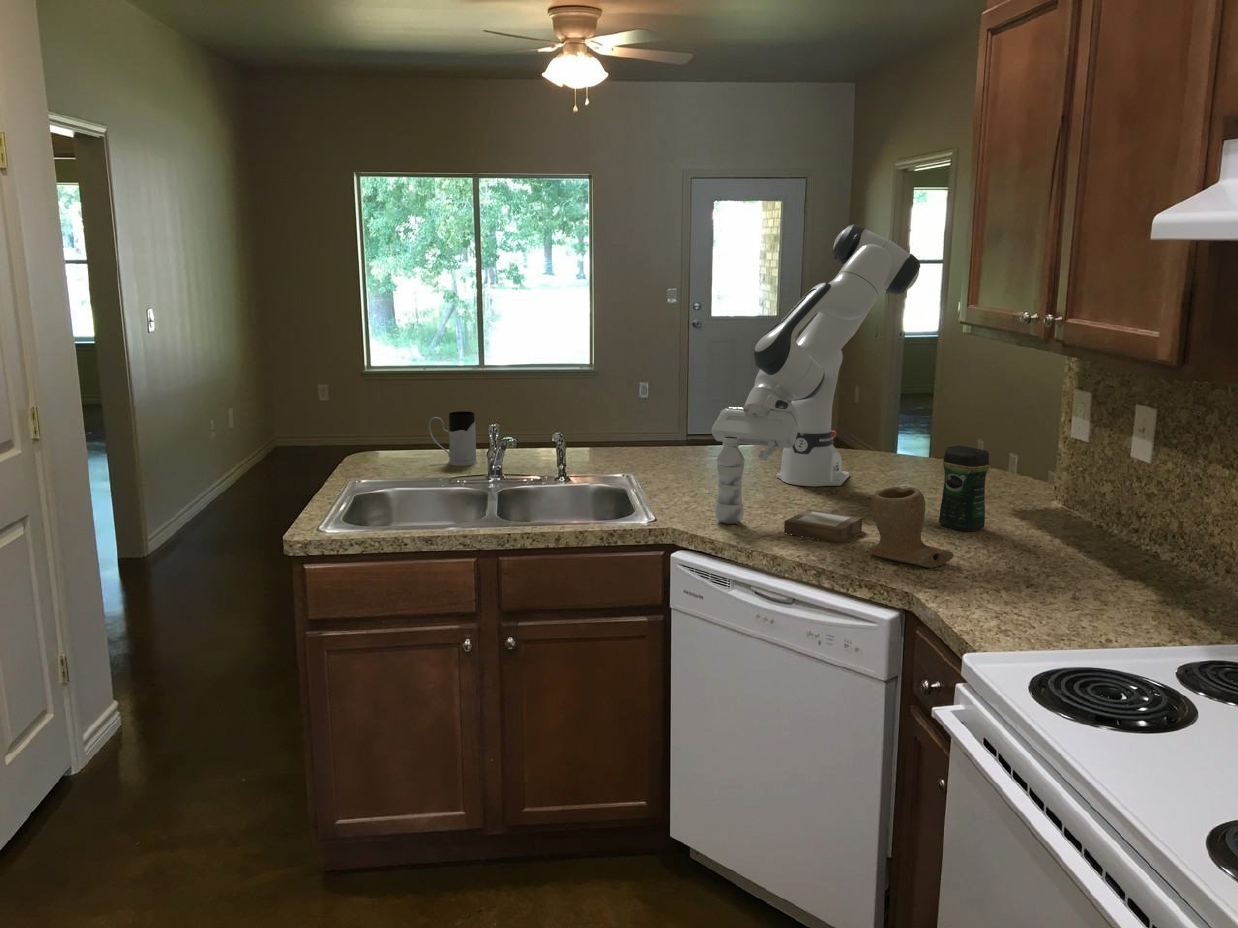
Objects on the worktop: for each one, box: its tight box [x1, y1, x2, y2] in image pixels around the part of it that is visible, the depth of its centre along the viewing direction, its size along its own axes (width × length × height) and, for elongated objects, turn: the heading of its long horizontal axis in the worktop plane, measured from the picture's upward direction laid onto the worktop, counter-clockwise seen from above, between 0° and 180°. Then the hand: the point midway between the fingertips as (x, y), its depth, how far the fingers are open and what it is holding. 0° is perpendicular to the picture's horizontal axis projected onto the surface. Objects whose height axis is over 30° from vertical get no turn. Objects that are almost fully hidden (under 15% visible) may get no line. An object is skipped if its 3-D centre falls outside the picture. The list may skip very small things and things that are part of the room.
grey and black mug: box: [428, 410, 479, 467], centre depth 290 cm, size 9×14×15 cm, turn 89°
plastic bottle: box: [714, 436, 746, 525], centre depth 223 cm, size 6×7×20 cm
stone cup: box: [868, 486, 954, 569], centre depth 195 cm, size 15×12×15 cm
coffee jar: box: [938, 445, 990, 532], centre depth 221 cm, size 10×8×19 cm
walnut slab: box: [783, 508, 863, 544], centre depth 217 cm, size 13×13×3 cm
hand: (743, 456), depth 224 cm, fingers open, 8 cm apart
